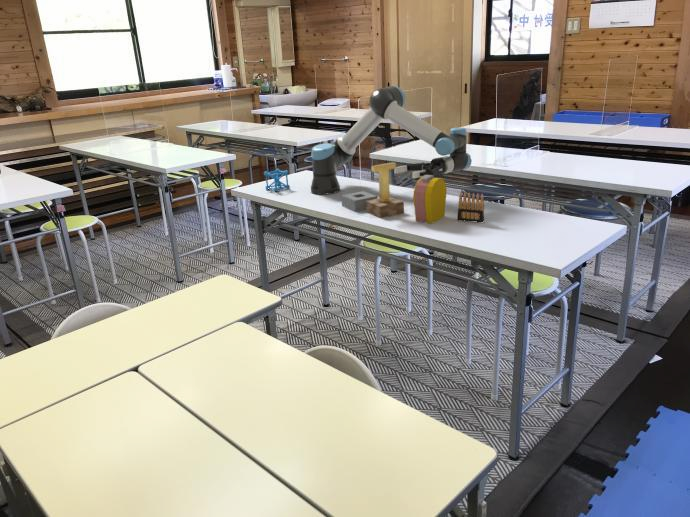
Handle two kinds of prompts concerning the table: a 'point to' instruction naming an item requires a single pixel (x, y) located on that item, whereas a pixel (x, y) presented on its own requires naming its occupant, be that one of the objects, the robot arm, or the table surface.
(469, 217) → the ammunition clip
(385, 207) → the block
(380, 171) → the t key
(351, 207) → the block
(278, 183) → the molecular structure
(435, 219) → the alarm clock
